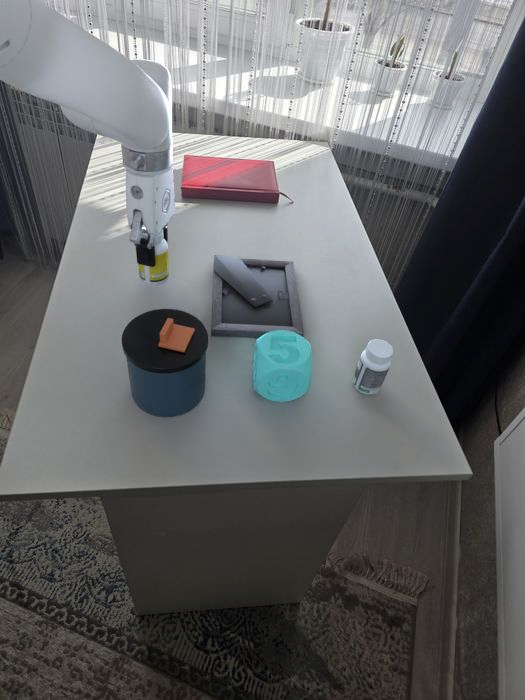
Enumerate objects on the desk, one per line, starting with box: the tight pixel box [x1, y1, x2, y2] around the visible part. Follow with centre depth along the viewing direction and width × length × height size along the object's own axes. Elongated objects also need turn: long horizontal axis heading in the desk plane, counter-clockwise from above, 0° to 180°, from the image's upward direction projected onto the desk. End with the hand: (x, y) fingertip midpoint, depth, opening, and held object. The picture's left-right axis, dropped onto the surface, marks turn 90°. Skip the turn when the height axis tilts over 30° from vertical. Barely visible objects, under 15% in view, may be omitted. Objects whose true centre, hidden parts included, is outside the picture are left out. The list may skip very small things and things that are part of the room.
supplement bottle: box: [137, 225, 170, 285], centre depth 84 cm, size 5×5×10 cm
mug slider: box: [158, 318, 195, 352], centre depth 63 cm, size 4×4×2 cm
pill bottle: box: [351, 338, 395, 395], centre depth 73 cm, size 5×5×8 cm
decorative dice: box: [252, 330, 313, 403], centre depth 72 cm, size 8×8×8 cm
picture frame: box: [210, 254, 305, 339], centre depth 87 cm, size 16×2×21 cm
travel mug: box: [121, 308, 210, 418], centre depth 67 cm, size 12×12×11 cm
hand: (152, 254), depth 84 cm, fingers closed on supplement bottle, 5 cm apart
